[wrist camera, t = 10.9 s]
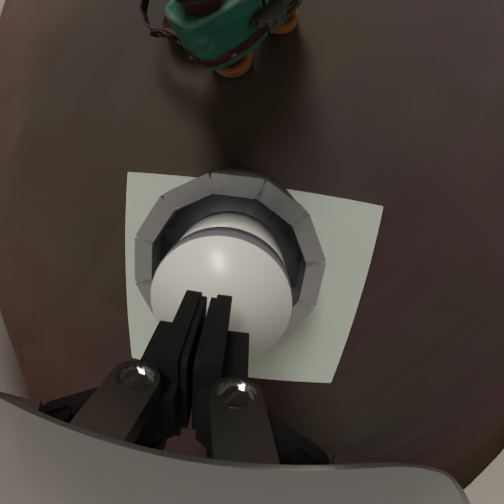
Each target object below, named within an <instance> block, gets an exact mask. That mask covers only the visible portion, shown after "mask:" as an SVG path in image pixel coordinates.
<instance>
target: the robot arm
mask: <svg viewBox="0 0 504 504" xmlns="http://www.w3.org/2000/svg"><path fill="white" fill-rule="evenodd" d="M231 304H232V296H227V295H220V294H218V295H217V298H213V297H211V300H210V304H209V307H208V311H207V315H206V307H207V297H206V296H202V292H198V291H191V290H187V291H186V293H185V295H184V297H183V299H182V302H181V304H180V306H179V308H178V311H177V313H176V315H175V317H174V320H173V322H168V321H162V320H161V321H160V322H159V323H158V325H157V327H156V329H155V331H154V333H153V335H152V337H151V339H150V341H149V343H148V345H147V347H146V349H145V351H144V353H143V355H142V357H141V360H140V361H139V360H131V361H126V362H123V363H121V364H119V365H117V366H116V367H115V368H114V369H113V370H112V371H111V372H110V374H109V375H108V376H107V377H106V378H105V380H104V381H103V382H102V383H101V385H100V386H99V387H96V388H93V389H90V390H87V391H83V392H80V393H77V394H73V395H70V396H66V397H63V398H59V399H56V400H52V401H50V402H48V403H46V404H45V405H43V404H42V402H41V401H39V400H34V399H29V398H25V397H20V396H16V395H12V394H8V393H4V392H0V504H471V503H470V501H469V499H468V498H467V496H466V494H465V493H464V491H463V489H462V488H461V486H460V485H459V483H458V482H457V481H456V480H455V479H454V478H453V477H452V476H451V475H450V474H448V473H447V472H445V471H443V470H440V469H437V468H434V467H430V466H426V465H419V464H413V463H404V462H403V461H401V460H399V459H394V458H384V457H372V456H361V455H352V454H344V453H337V452H336V453H335V454H334V455H327V454H326V453H325V452H324V451H323V450H322V449H321V448H320V447H318V446H317V445H315V444H314V443H312V442H311V441H309V440H308V439H306V438H305V437H304V436H302V435H301V434H299V433H298V432H296V431H295V430H294V429H292V428H291V427H289V426H288V425H287V424H285V423H284V422H283V421H281V420H280V419H279V418H277V417H276V416H275V415H273V414H272V413H271V412H269V411H268V410H267V409H266V405H265V401H264V397H263V393H262V391H261V389H260V387H259V386H258V385H257V384H256V383H254V382H253V381H251V380H249V379H248V361H249V333H245V332H237V331H229V321H230V313H231ZM191 410H192V429H194V430H196V439H197V440H198V441H199V442H200V443H201V444H202V445H203V446H204V447H205V448H206V458H202V457H195V456H189V455H183V454H178V453H172V452H167V451H163V450H164V448H165V445H166V439H168V438H170V437H172V436H175V435H177V436H180V433H181V429H182V427H183V428H188V424H189V420H190V415H191Z"/></svg>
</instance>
